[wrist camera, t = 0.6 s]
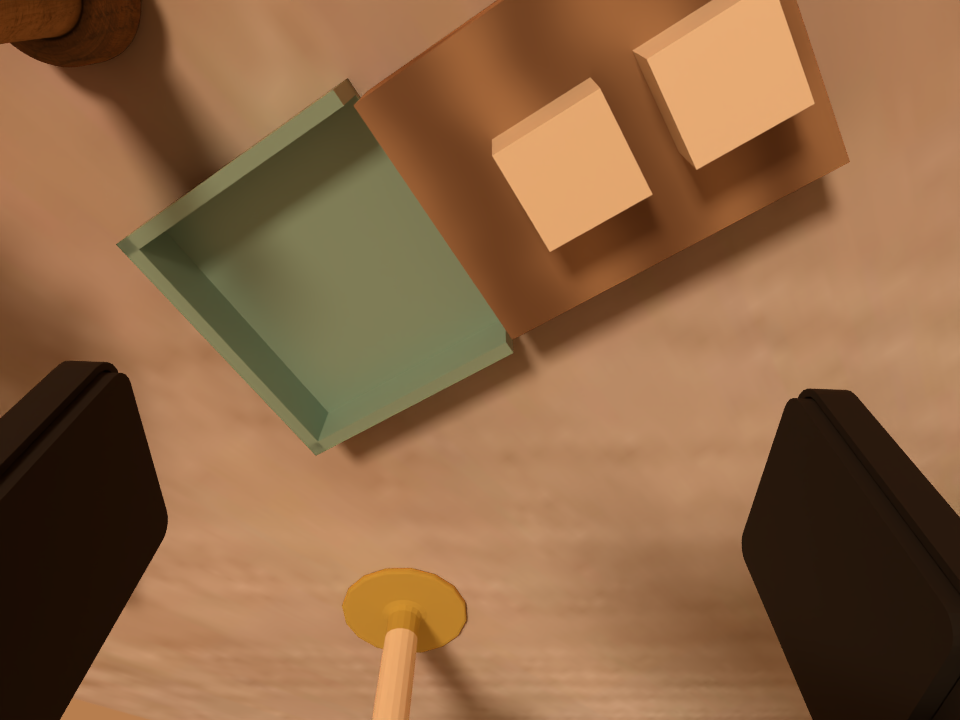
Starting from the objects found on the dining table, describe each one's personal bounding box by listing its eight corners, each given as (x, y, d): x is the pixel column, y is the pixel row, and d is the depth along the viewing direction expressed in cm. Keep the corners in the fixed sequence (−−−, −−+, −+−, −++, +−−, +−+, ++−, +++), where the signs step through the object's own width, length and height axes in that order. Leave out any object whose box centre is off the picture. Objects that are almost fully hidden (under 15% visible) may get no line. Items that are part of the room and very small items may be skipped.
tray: (347, 78, 32) (332, 89, 30) (511, 323, 39) (513, 352, 36) (146, 221, 36) (116, 244, 33) (328, 421, 43) (316, 455, 40)
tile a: (745, -21, 27) (772, -20, 24) (785, 91, 29) (814, 103, 26) (632, 50, 28) (646, 58, 25) (678, 152, 30) (696, 169, 28)
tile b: (590, 77, 29) (600, 88, 26) (638, 175, 31) (652, 194, 28) (492, 139, 30) (491, 155, 27) (545, 229, 32) (549, 251, 30)
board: (710, -150, 28) (741, -166, 24) (813, 141, 34) (849, 161, 30) (367, 90, 33) (353, 105, 29) (510, 306, 39) (512, 339, 35)
